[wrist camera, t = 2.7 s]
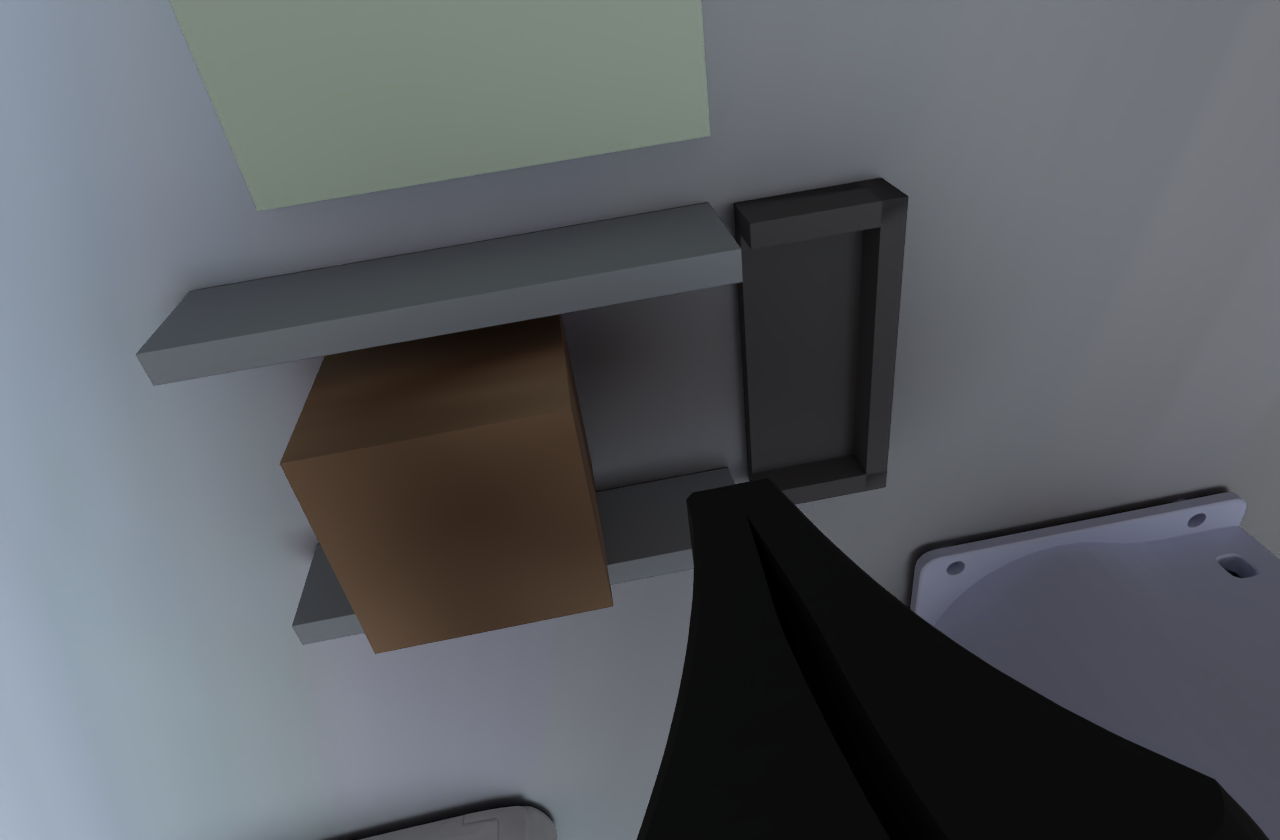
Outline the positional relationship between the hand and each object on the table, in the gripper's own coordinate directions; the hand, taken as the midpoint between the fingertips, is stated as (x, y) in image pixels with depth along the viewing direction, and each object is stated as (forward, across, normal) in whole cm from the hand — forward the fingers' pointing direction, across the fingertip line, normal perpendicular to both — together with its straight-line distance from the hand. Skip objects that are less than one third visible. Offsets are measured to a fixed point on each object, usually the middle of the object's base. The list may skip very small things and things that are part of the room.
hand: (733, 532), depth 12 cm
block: (+6, +4, 0) cm, 7 cm away
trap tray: (+5, -3, 0) cm, 6 cm away
